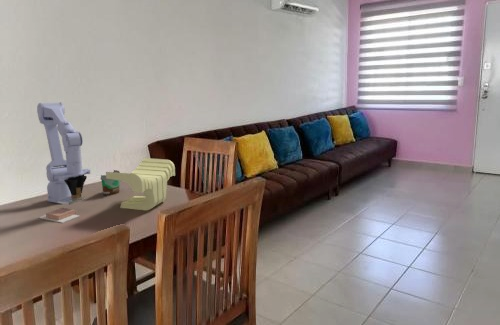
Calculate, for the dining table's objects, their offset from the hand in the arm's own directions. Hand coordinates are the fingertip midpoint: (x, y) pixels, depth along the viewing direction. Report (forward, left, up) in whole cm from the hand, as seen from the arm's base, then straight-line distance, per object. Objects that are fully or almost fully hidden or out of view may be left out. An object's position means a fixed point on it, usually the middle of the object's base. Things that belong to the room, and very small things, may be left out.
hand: (76, 193), depth 164 cm
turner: (0, -3, -2) cm, 4 cm away
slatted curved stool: (+20, +18, -7) cm, 28 cm away
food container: (-5, +27, -7) cm, 28 cm away
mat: (0, -9, -7) cm, 12 cm away
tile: (0, -5, -6) cm, 8 cm away
